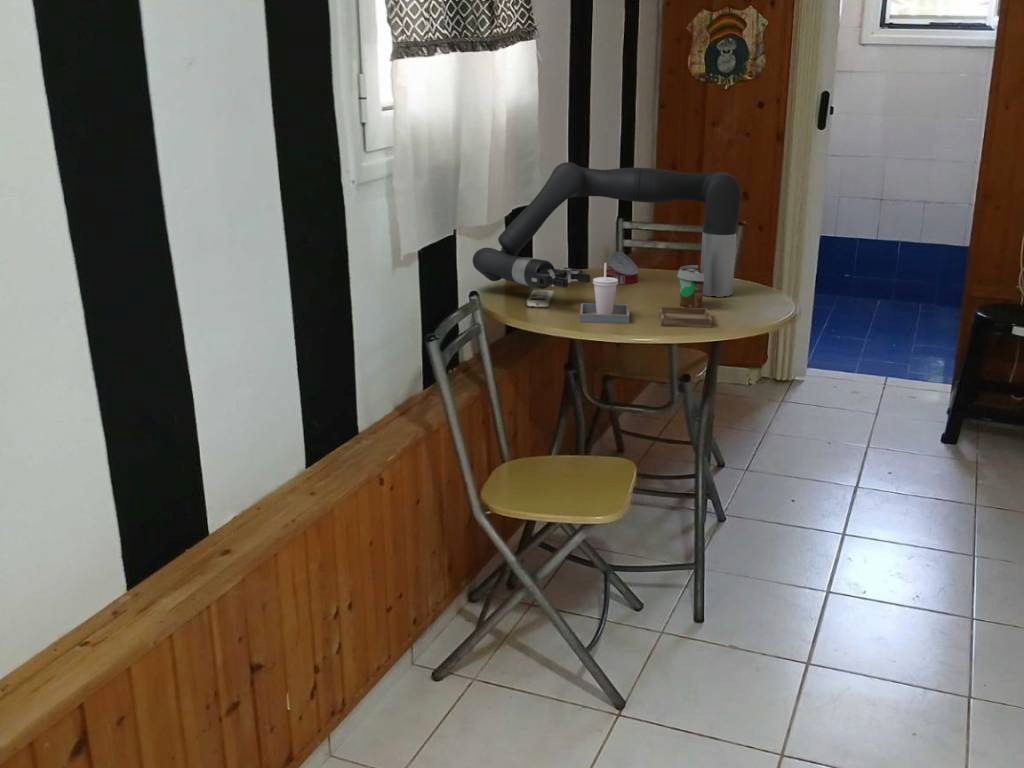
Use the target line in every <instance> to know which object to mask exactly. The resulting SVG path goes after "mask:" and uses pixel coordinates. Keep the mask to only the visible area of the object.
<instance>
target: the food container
mask: <svg viewBox="0 0 1024 768" xmlns="http://www.w3.org/2000/svg"><path fill="white" fill-rule="evenodd" d="M676 276H677V278H679V307H681V306H682V307H684V308H703V296H704V295H703V284H704V273H701V271H700V270H699V264H698V265H697V264H691V265H690V264H689V265H684V266H680V267H679V269H678V271H677V275H676ZM682 307H681V308H682Z"/></svg>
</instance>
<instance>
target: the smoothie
mask: <svg viewBox="0 0 1024 768" xmlns="http://www.w3.org/2000/svg"><path fill="white" fill-rule="evenodd" d="M607 265H608V262H604V266H603V267H604V269H603V276H599V277H594V278H592V284H593V286H594V287H593V288H594V298H595V304H596V311H597V312H596V314H613V313H614V312H613V306H614V304H615V299H616V293H617V286H618V285H617V284H618V279H616V278H611V277H606V270H608V269H607V267H608V266H607Z"/></svg>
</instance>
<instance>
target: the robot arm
mask: <svg viewBox="0 0 1024 768" xmlns="http://www.w3.org/2000/svg"><path fill="white" fill-rule="evenodd" d="M741 189H742V188H741V185H740V182H739V181H738V180H737V178H735V176H733V175H732V174H730V173H728V172H723V171H722V172H721V171H719V172H705V173H704V172H703V173H699V172H698V173H689V172H687V173H686V172H682V171H674V170H668V169H658V168H652V167H649V168H648V167H621V168H620V167H619V168H611V169H596V168H589V167H583V166H579V165H577V164H576V163H575V162H569V161H567V162H566V161H565V162H562V163H560V164H558V165H556V167H555V168H554V169H553V171H552V172H551V174H550V176H549V178H548V179H547V181H546V182H545V184H544V185H543V186H542V188H541V189H540V191H539V192H538V194H537V195H536V196H535V197H534V198H533V199H532V201H531V202H530V203H529V204H528V205H527V206H526V207H525V208H524V209H523V210H522V211H521V212H520V213H519V214H518V215H517V216H516V217H515V218H514V219H513V220H512V221H511V222H510V224H509V225H507V227H506V228H505V229H504V230H503V231H502V232H501V234H500V235H499V236H498V238H497V242H498V244H499V245H500V246H501V249H500V250H498V249H495V248H492V247H483V248H480V249H478V250H476V251H475V253H474V255H472V256H473V257H472V265H473V266H474V269H475V270H477V272H479V273H480V274H482V275H483V276H484V277H485V278H486V279H488V280H489V281H491V282H498V281H500V280H502V279H503V280H505V281H507V282H513V283H517V284H520V285H523V286H527V287H531V288H536V289H537V288H538V289H542V290H543V289H548V288H549V287H553V288H554V287H559V288H568V286H569V284H570V283H571V282H581V283H585V284H589V283H590V282H591V275H590V273H585V272H583V270H582V269H579V268H578V269H577V268H571V267H564V268H561V267H554V266H553V264H552V263H551V262H550V261H549V260H545V259H539V258H533V257H524V256H523V257H522V256H518V255H519V252H520V251H521V250H522V249H523V248H524V247H525V246H526V245H527V244H528V242H530V240H531V239H532V238H533V237H534V236H535V235H536V233H537V232H538V231H539V230H540V228H541V227H542V226H543V225H544V223H545V221H546V220H548V218H549V217H550V215H551V214H552V213H553V212H555V211H556V209H558V207H559V206H561V205H562V204H563V203H564V202H565V201H567V200H568V199H570V198H577V197H604V198H609V199H614V200H622V201H627V202H628V201H629V202H635V203H637V202H639V203H653V204H654V203H655V204H656V203H669V202H674V201H675V202H676V201H692V202H693V201H694V202H701V203H705V204H704V218H703V222H702V237H701V250H700V251H701V257H700V268H699V269H700V270H699V271H701V273H704V284H703V296H705V297H711V296H716V297H715V298H718V297H719V298H723V297H724V296H726V297H730V295H731V296H733V289H734V277H735V264H736V263H735V260H736V248H737V247H736V246H737V231H738V224H739V221H740V220H739V219H740V211H741V210H740V208H741V194H742V191H741Z"/></svg>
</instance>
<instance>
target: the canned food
mask: <svg viewBox="0 0 1024 768" xmlns="http://www.w3.org/2000/svg"><path fill="white" fill-rule="evenodd" d="M607 265H608V266H609V267H611V269H610V268H609V269H606V277H611V278H616V279H618V284H617V286H619V285H621V286H624V285H629V286H630V285H634V284H637V283H638V282H639V268H638V266H637V264H636V263H635V262H634V261H633V260H632V259H631V258H630V257H629V256H628V255H627V254H625V253H624V252H623V251H617V250H616V251H612V252H610V254H609V255H608V256H607Z"/></svg>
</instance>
